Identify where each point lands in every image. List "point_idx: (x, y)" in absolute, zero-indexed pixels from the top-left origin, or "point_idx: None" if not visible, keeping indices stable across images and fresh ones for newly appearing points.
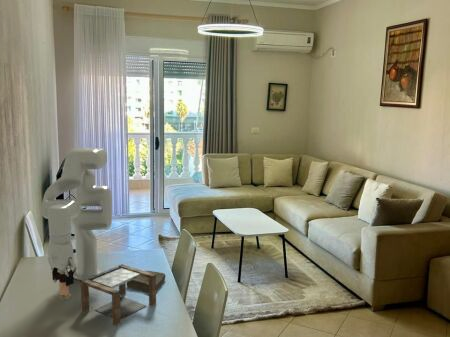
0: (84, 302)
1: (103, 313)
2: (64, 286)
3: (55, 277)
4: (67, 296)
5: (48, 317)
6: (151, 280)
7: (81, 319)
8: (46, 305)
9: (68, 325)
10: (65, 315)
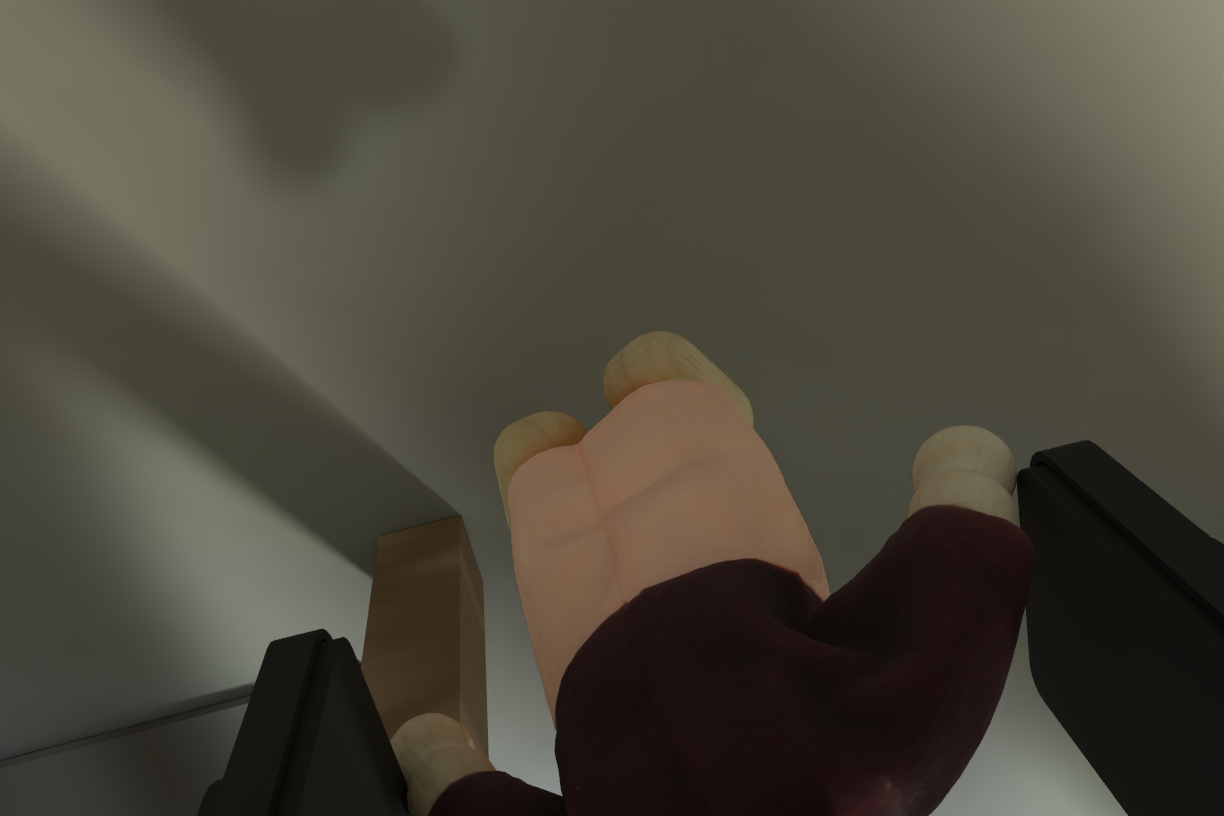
0: (371, 643)
1: (175, 718)
2: (577, 579)
3: (974, 565)
4: (511, 475)
5: (628, 4)
6: None
7: (185, 417)
8: (1086, 156)
9: (85, 171)
10: (499, 270)
